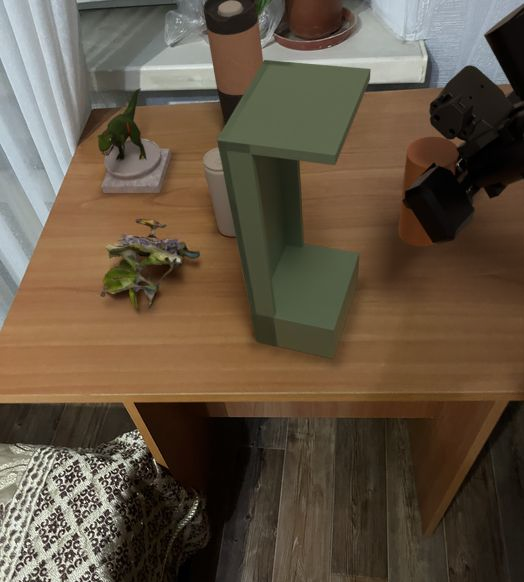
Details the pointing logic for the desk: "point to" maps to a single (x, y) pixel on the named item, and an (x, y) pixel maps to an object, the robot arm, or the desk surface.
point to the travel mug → (233, 48)
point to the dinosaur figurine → (131, 156)
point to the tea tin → (417, 162)
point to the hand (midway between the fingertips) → (418, 189)
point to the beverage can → (218, 192)
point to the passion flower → (144, 247)
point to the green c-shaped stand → (290, 200)
